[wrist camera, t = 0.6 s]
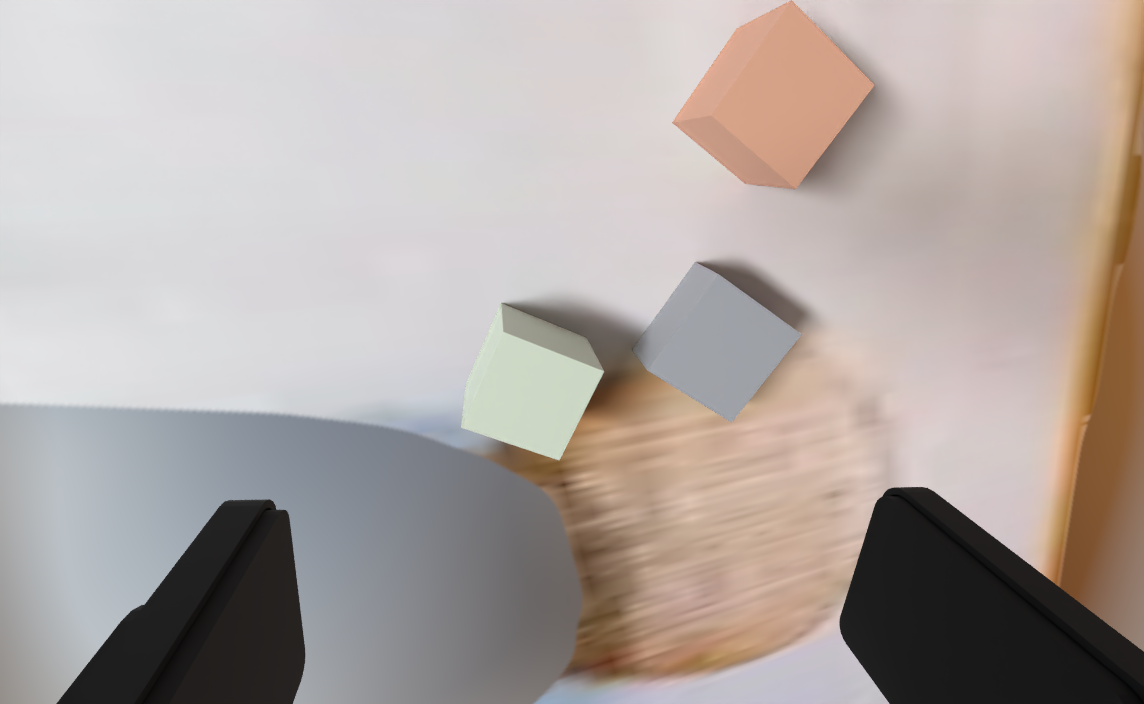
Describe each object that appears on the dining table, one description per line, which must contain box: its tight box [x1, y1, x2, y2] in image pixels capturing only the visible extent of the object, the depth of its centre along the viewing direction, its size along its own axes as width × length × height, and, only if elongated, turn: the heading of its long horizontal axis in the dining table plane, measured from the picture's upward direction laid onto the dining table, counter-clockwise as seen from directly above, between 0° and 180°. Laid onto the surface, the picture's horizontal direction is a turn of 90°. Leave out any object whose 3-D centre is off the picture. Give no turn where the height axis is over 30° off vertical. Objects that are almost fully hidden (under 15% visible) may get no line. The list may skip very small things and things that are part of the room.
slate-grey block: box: [632, 262, 802, 422], centre depth 35 cm, size 7×7×4 cm
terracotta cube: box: [672, 0, 874, 189], centre depth 29 cm, size 6×6×6 cm
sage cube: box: [461, 303, 604, 460], centre depth 33 cm, size 6×6×6 cm
